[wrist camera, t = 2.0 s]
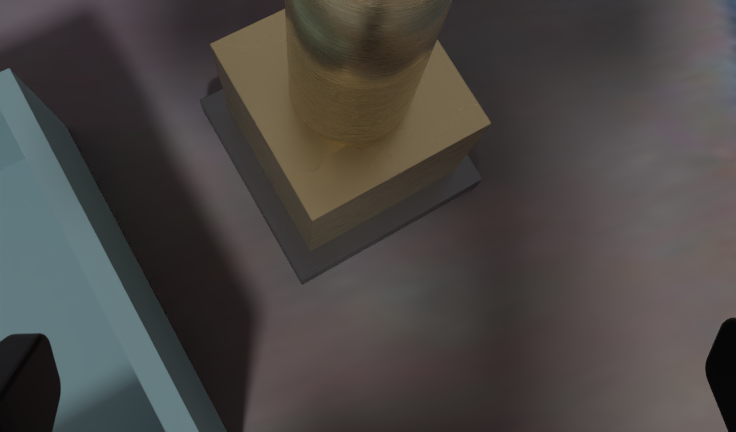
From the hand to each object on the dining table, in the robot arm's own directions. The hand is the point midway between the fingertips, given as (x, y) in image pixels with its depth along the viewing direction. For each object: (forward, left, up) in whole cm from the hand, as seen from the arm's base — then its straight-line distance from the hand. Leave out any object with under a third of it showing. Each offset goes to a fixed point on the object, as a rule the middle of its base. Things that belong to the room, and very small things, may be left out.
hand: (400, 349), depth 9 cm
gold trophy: (+6, -4, -12) cm, 14 cm away
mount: (+6, -4, -13) cm, 15 cm away
